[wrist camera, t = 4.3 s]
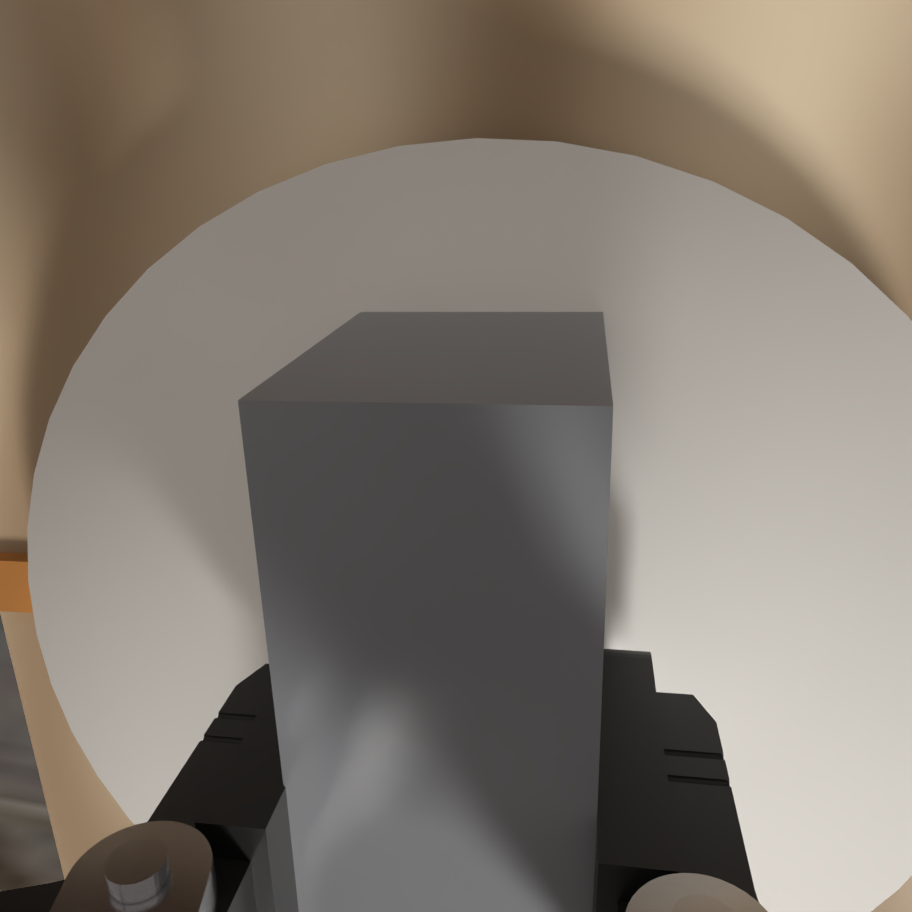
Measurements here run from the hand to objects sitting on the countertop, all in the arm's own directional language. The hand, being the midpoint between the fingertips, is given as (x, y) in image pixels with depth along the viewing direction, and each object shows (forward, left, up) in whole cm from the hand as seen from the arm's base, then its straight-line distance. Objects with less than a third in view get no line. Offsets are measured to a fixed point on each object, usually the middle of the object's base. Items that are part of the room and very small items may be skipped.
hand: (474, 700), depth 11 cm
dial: (0, 0, -2) cm, 2 cm away
